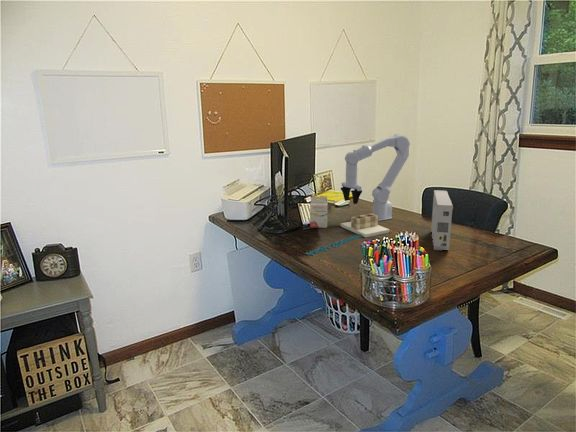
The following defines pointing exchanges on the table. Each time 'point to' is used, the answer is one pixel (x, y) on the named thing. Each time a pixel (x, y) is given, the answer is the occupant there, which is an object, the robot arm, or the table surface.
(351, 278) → the table surface
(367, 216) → the block
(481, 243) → the table surface
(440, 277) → the table surface
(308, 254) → the nameplate
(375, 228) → the pin board
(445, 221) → the game console
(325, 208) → the ink cartridge box
